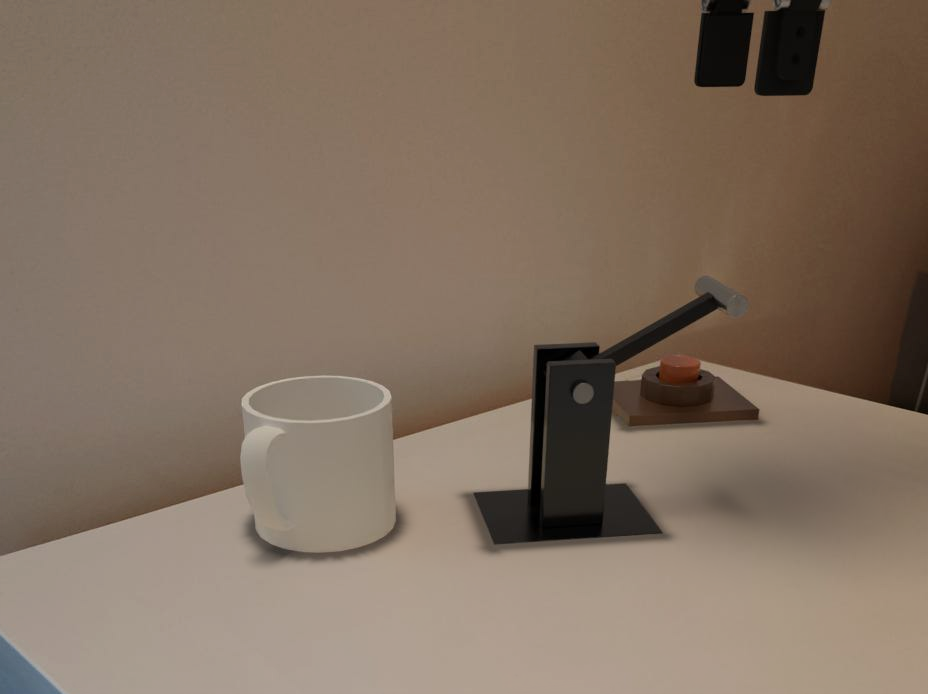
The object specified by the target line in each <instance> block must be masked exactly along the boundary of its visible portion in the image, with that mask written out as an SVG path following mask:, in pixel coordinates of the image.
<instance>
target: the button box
mask: <svg viewBox="0 0 928 694" xmlns="http://www.w3.org/2000/svg"><path fill="white" fill-rule="evenodd" d="M659 370H660V365H657V366H653V367H649V368H647V369H645V370H644V371H643V372H642V374H641V378H640V379H636V380H635V379H633V380H615V382H614V394H613V405H612V413H613V414H614V415H615V416H619V417H620V419H622V420H623V422H624V423H625V424H626V425H627V426H628V427H643V426H644V427H645V426H646V427H647V426H664V425H665V426H666V425H682V424H701V423H717V422H718V423H720V422H721V423H722V422H738V421H739V422H741V421H755V420H756V421H758V420H759V415H760V408H759V407H758V406H756V405H755V404H754V403H753V402H751V401H750V400H749V399H748V398H746V397H745V396H744V395H743V394H741V393H740V392H739V391H738V390H736V389H735V388H734V387H733V386H731V385H730V384H729V383H728V382H726V381H725V380H724V379H723V378H721V377H720V376H718V375H717V376H715V375H714V374H713V373H712V372H711V371H709V370H706V369H703V368H700V372H699V380H698V381H696V382H691V383H676V382H668V381H664V380H661V379H659Z"/></svg>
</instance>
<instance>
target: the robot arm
mask: <svg viewBox="0 0 928 694" xmlns="http://www.w3.org/2000/svg"><path fill="white" fill-rule="evenodd" d="M771 1H772V7H773V10H764V14H763V22H762V28H761V35H760V41H759V42H760V43H759V51H758V58H757V65H756V73H755V79H754V85H753V86H754V88H753V90H754V93H755V94H756V95H757V96H759V97H760V96H761V97H789V96H790V97H791V96H808V95H809V94H811V92H812V91H813V88H814V82H815V76H816V70H817V63H818V58H819V51H820V46H821V40H822V33H823V27H824V21H825V15H826V11H827V10H828V8H829V6H830V4H831V2H832V0H771ZM751 2H752V0H700V12H701V13H700V23H699V32H698V41H697V50H696V51H697V52H696V60H695V69H694V78H693V79H694V80H693V82H694V85H695V86H696V87H698V88H739V87H742V86H743V85H744V84H745V82H746V77H747V70H748V62H749V54H750V47H751V39H752V32H753V24H754V17H755V12H747V11H748V10H749V8H750V5H751Z"/></svg>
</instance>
